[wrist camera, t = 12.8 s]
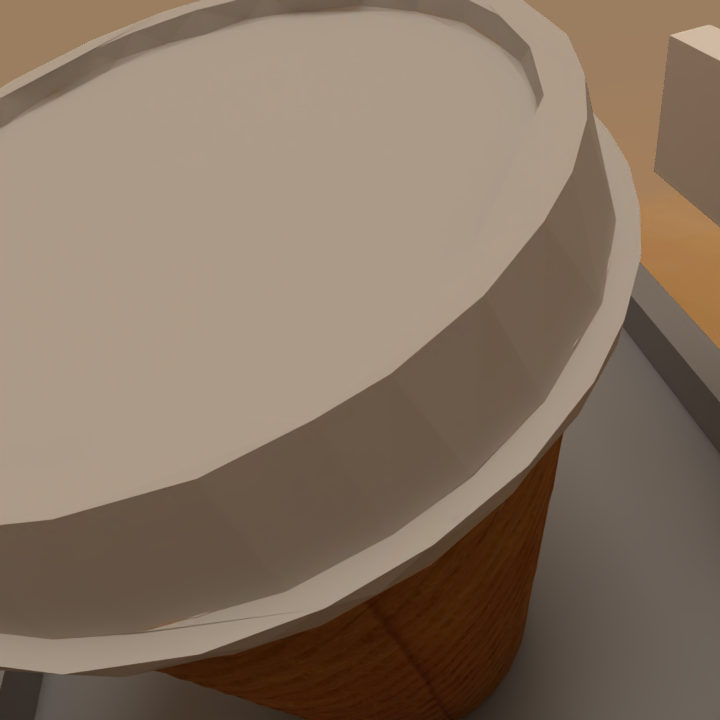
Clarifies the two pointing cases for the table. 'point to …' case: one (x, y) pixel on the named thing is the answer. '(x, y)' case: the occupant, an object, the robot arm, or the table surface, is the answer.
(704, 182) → the robot arm
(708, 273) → the table surface
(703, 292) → the table surface
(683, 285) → the table surface
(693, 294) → the table surface
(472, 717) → the tray
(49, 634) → the disposable coffee cup
